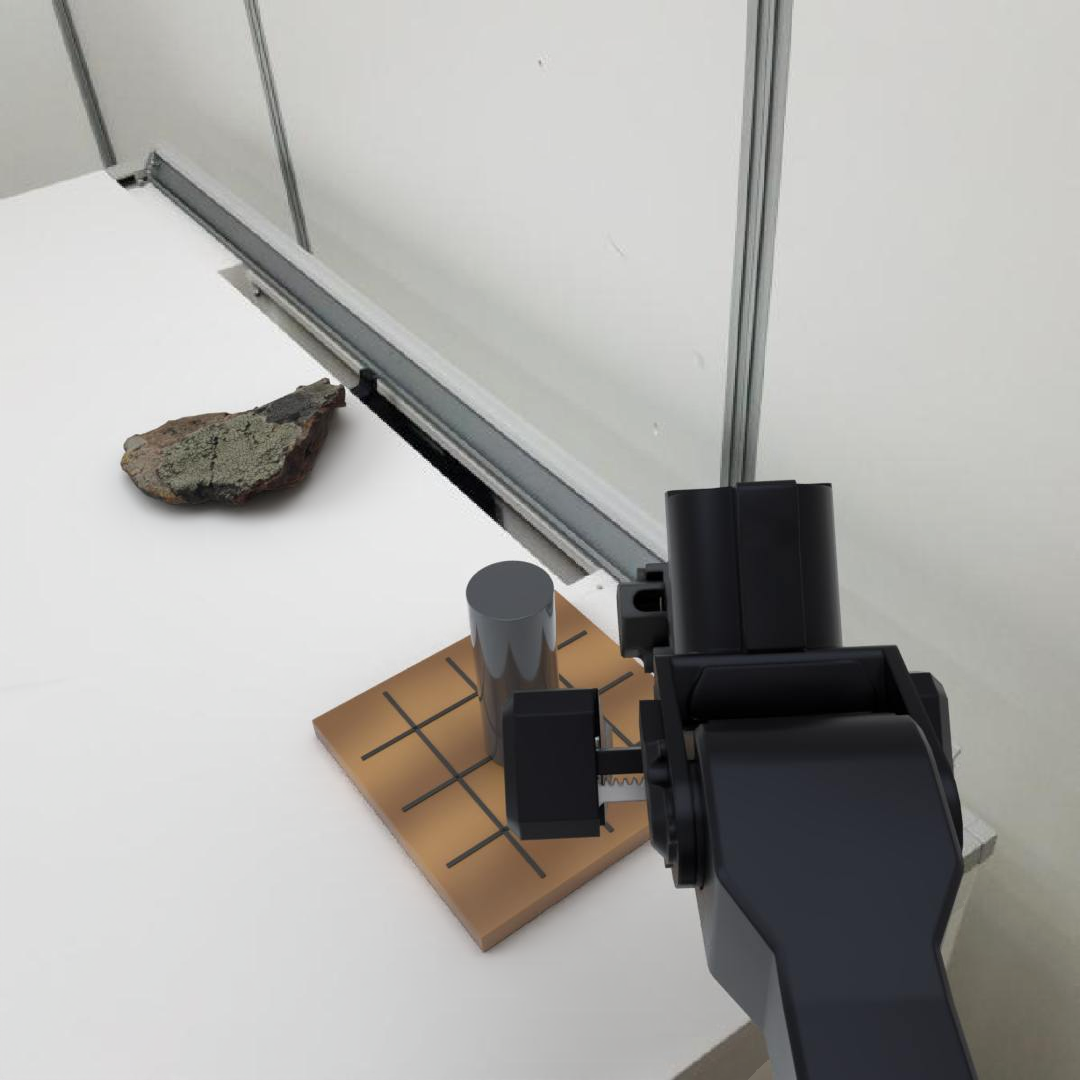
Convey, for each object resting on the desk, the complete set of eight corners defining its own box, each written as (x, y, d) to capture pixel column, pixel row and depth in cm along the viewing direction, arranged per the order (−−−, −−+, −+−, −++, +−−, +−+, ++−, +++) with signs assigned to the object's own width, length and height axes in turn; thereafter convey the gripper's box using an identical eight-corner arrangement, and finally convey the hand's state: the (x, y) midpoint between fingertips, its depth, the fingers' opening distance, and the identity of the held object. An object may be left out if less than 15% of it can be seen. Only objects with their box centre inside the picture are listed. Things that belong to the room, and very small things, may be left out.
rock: (111, 540, 93) (92, 491, 90) (133, 422, 106) (117, 376, 103) (357, 505, 95) (347, 456, 92) (349, 393, 108) (340, 347, 105)
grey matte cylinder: (548, 777, 71) (537, 627, 62) (472, 759, 72) (452, 610, 64) (572, 718, 74) (565, 568, 66) (499, 702, 76) (483, 553, 67)
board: (746, 773, 72) (747, 756, 71) (483, 953, 64) (481, 937, 63) (555, 603, 85) (554, 587, 84) (315, 734, 76) (310, 718, 75)
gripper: (990, 541, 42) (875, 566, 58) (485, 567, 43) (505, 584, 58) (1015, 849, 41) (891, 789, 57) (499, 873, 42) (516, 807, 57)
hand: (699, 736), depth 57 cm, fingers open, 9 cm apart
